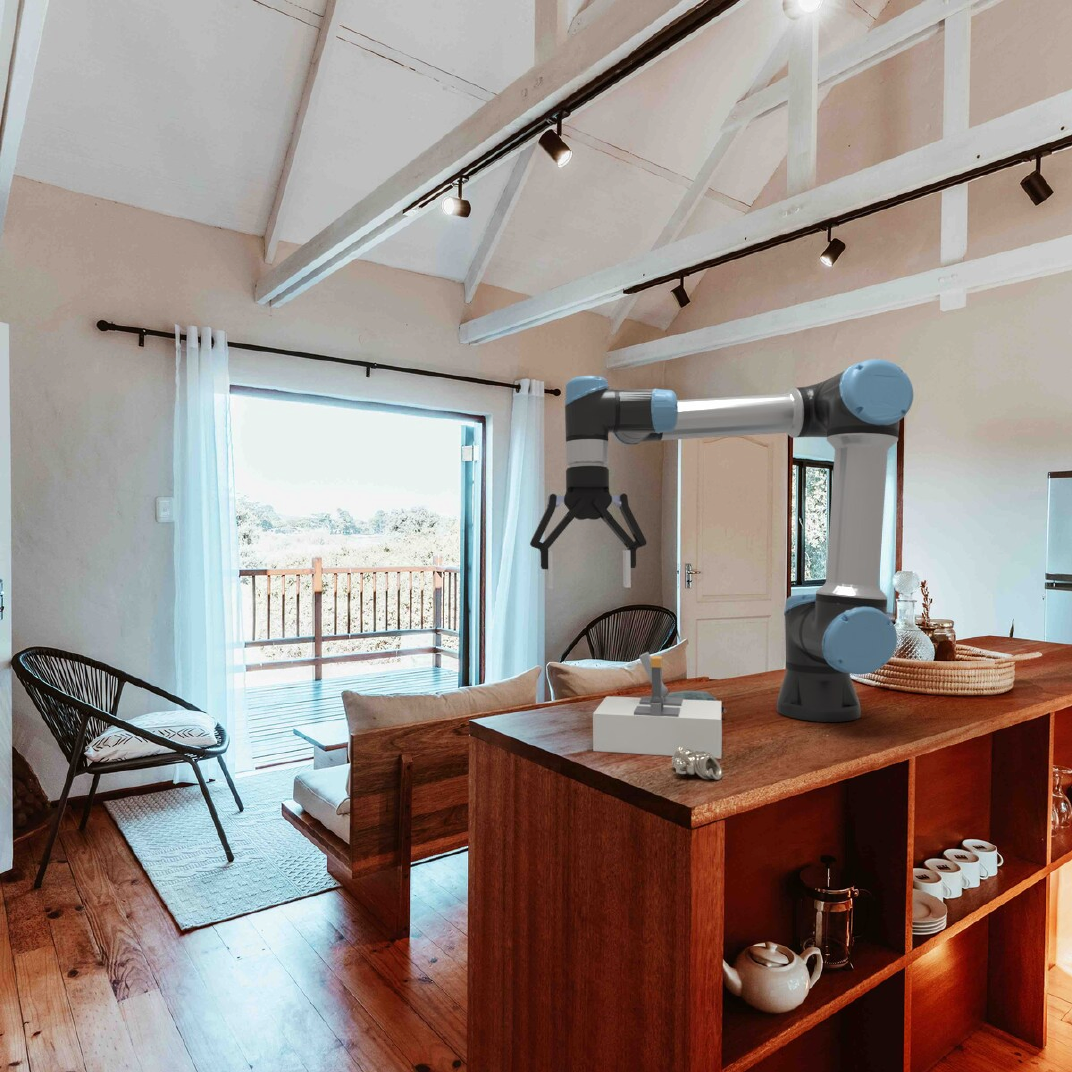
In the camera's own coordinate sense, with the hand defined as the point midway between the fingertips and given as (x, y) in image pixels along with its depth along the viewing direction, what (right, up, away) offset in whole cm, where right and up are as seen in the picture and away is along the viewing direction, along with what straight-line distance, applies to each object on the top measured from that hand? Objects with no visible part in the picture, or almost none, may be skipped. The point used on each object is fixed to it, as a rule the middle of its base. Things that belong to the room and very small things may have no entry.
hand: (588, 588), depth 130 cm
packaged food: (+21, -26, +14) cm, 36 cm away
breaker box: (+11, -25, -6) cm, 29 cm away
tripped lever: (+10, -18, -10) cm, 23 cm away
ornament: (+13, -26, -23) cm, 37 cm away
